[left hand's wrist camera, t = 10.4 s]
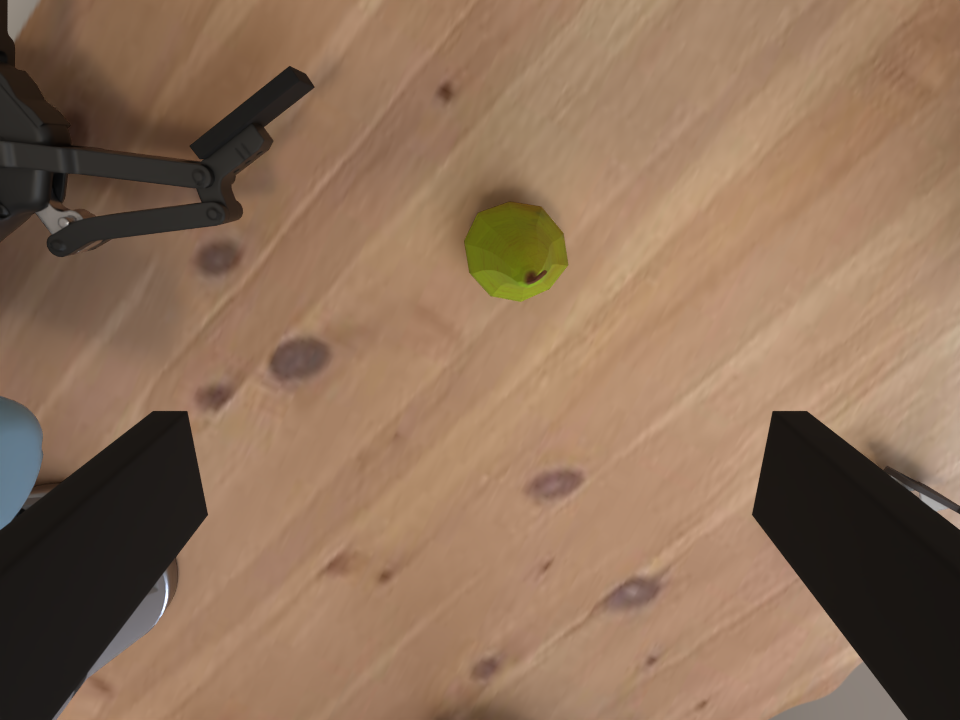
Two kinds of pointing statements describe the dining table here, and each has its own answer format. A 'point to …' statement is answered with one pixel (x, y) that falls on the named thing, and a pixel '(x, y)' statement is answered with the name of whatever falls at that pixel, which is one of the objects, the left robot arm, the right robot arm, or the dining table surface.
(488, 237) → the fruit
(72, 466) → the dining table surface
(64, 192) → the right robot arm
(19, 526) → the left robot arm
